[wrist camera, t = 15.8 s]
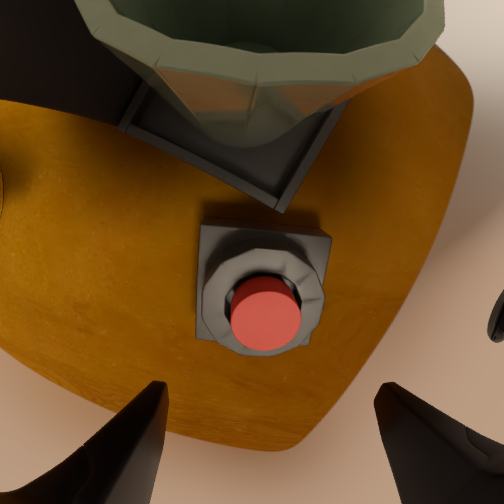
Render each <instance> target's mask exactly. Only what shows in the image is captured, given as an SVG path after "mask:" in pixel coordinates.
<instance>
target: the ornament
mask: <svg viewBox="0 0 504 504" xmlns="http://www.w3.org/2000/svg"><path fill="white" fill-rule="evenodd" d="M2 204H3V180H2V173H1V169H0V216H1V211H2Z"/></svg>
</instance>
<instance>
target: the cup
mask: <svg viewBox="0 0 504 504" xmlns="http://www.w3.org/2000/svg"><path fill="white" fill-rule="evenodd" d="M74 2H75V4H76V6H77V8H78V10H79V12H80V14H81V16H82V18H83V20H84V22H85V24H86V26H87V28H88V30H89V32H90V33H91V35H92V36H93V37H94V38H95V39H96V40H98V41H99V42H100V43H101V44H102V45H104V46H105V47H106V48H107V49H108V50H110V51H111V52H112V53H113V54H114V55H116V56H117V57H118V58H119V59H120V60H122V61H123V62H124V63H125V64H126V65H127V66H129V67H130V68H131V69H132V70H133V71H134V72H135V73H137V74H138V75H139V76H140V77H141V78H142V79H143V80H145V81H146V82H147V83H148V84H149V85H150V86H151V87H152V88H153V89H155V90H156V91H157V92H158V93H159V94H160V95H161V96H162V97H163V98H164V99H166V100H167V101H168V102H169V103H170V104H171V105H172V106H173V107H174V108H175V109H176V110H177V111H179V112H180V113H181V114H182V115H183V116H184V117H185V118H186V119H187V120H188V121H189V122H190V123H191V124H192V125H193V126H194V127H195V128H197V129H198V130H199V131H201V132H202V133H204V134H205V135H206V136H208V137H209V138H211V139H212V140H214V141H216V142H218V143H221V144H225V145H228V146H233V147H239V148H248V147H257V146H262V145H266V144H269V143H271V142H273V141H275V140H277V139H279V138H281V137H283V136H285V135H287V134H288V133H290V132H292V131H293V130H295V129H297V128H298V127H300V126H302V125H303V124H305V123H307V122H308V121H310V120H312V119H313V118H315V117H317V116H319V115H320V114H322V113H324V112H326V111H327V110H329V109H331V108H333V107H334V106H336V105H338V104H340V103H342V102H343V101H345V100H347V99H349V98H351V97H353V96H355V95H357V94H358V93H360V92H362V91H364V90H366V89H368V88H370V87H372V86H374V85H376V84H378V83H380V82H382V81H384V80H386V79H388V78H390V77H392V76H394V75H396V74H399V73H401V72H403V71H405V70H407V69H409V68H412V67H414V66H416V65H417V64H418V63H420V62H421V61H422V60H423V58H424V57H425V56H426V54H427V53H428V52H429V50H430V49H431V47H432V46H433V45H434V43H435V42H436V41H437V39H438V38H439V36H440V35H441V34H442V32H443V31H444V27H445V13H444V0H74Z"/></svg>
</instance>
